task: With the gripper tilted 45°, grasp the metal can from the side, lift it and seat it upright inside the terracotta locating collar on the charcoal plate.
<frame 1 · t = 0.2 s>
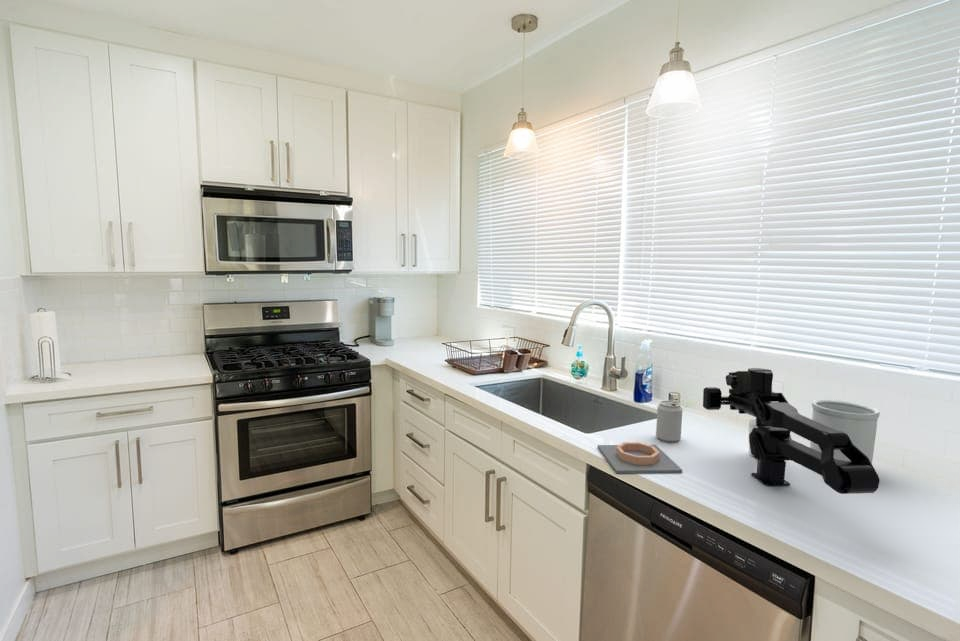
hand: (719, 392, 148), 17 cm above the countertop, tool horizontal, fingers open, 9 cm apart
utensil holder: (838, 467, 134), on the countertop
seat plate: (637, 459, 138), on the countertop
white cup: (761, 456, 141), on the countertop
can: (668, 439, 154), on the countertop
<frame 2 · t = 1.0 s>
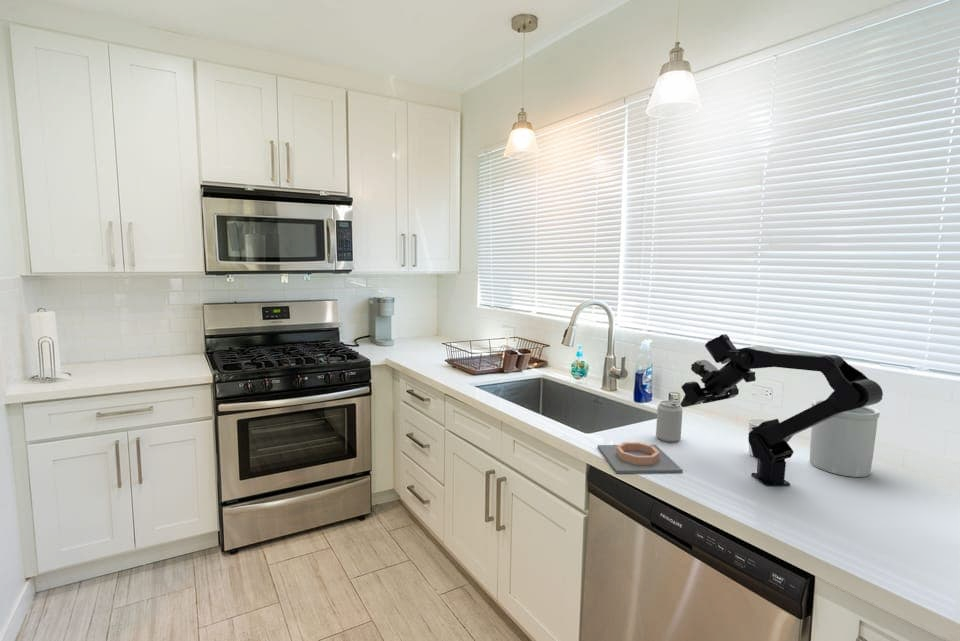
hand: (692, 403, 146), 14 cm above the countertop, tool tilted 45°, fingers open, 9 cm apart
nothing on the countertop moved.
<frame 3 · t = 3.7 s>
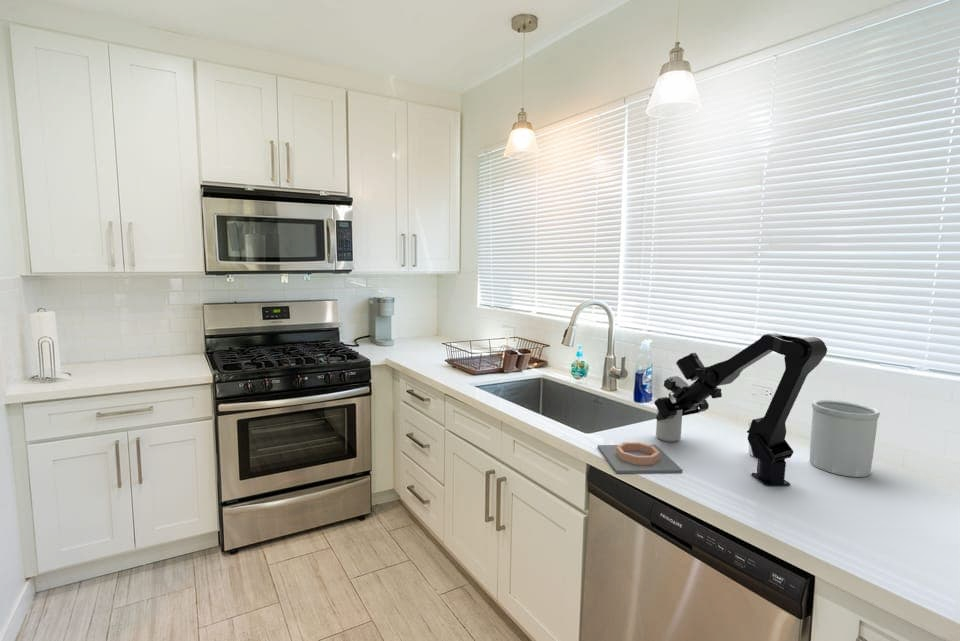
hand: (665, 417, 155), 7 cm above the countertop, tool tilted 45°, fingers closed on can, 7 cm apart
can: (668, 439, 154), on the countertop, touching gripper
everything else where it was.
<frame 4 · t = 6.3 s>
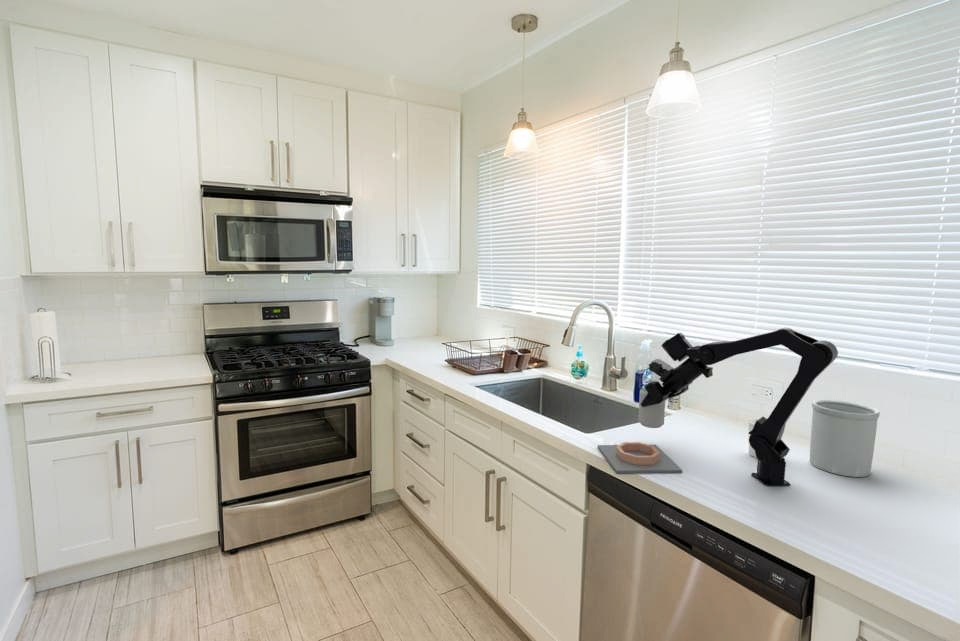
hand: (647, 403, 148), 13 cm above the countertop, tool tilted 45°, fingers closed on can, 7 cm apart
can: (651, 425, 148), point 6 cm above the countertop, touching gripper
everything else where it was.
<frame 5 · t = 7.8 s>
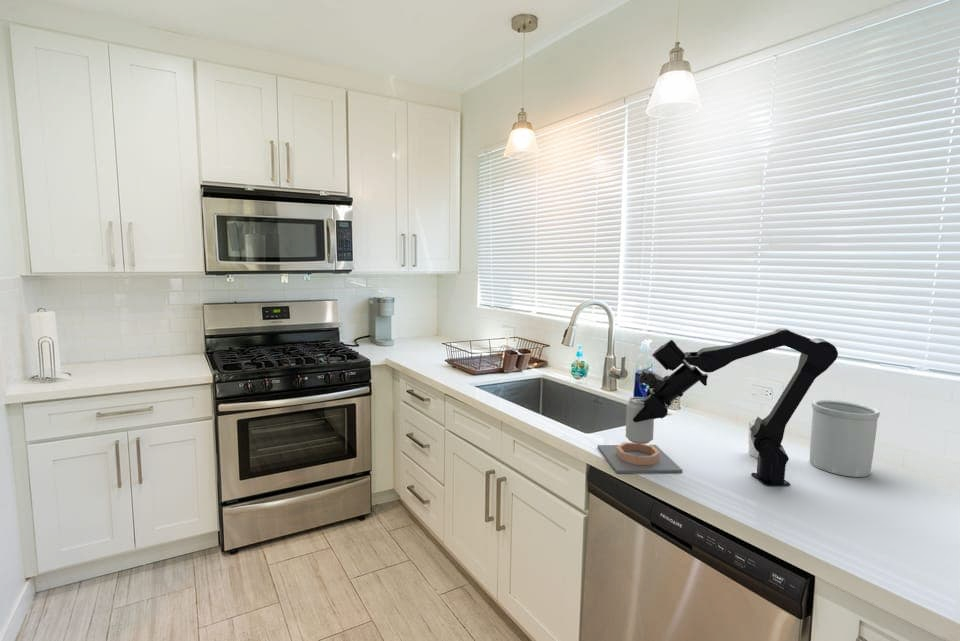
hand: (635, 416, 137), 12 cm above the countertop, tool tilted 45°, fingers closed on can, 7 cm apart
can: (639, 440, 137), point 6 cm above the countertop, touching gripper
everything else where it was.
when the fingers open (8 cm above the countertop, at t = 9.2 s): can stays where it is, resting on seat plate.
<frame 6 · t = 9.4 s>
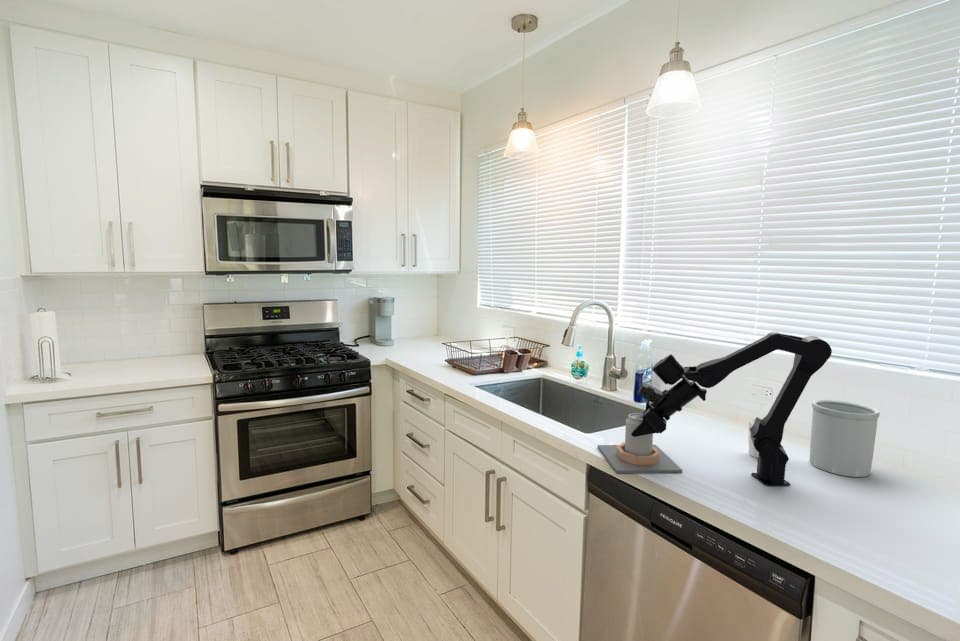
hand: (633, 430, 137), 9 cm above the countertop, tool tilted 45°, fingers open, 9 cm apart
can: (638, 457, 138), point 1 cm above the countertop, touching seat plate
everything else where it was.
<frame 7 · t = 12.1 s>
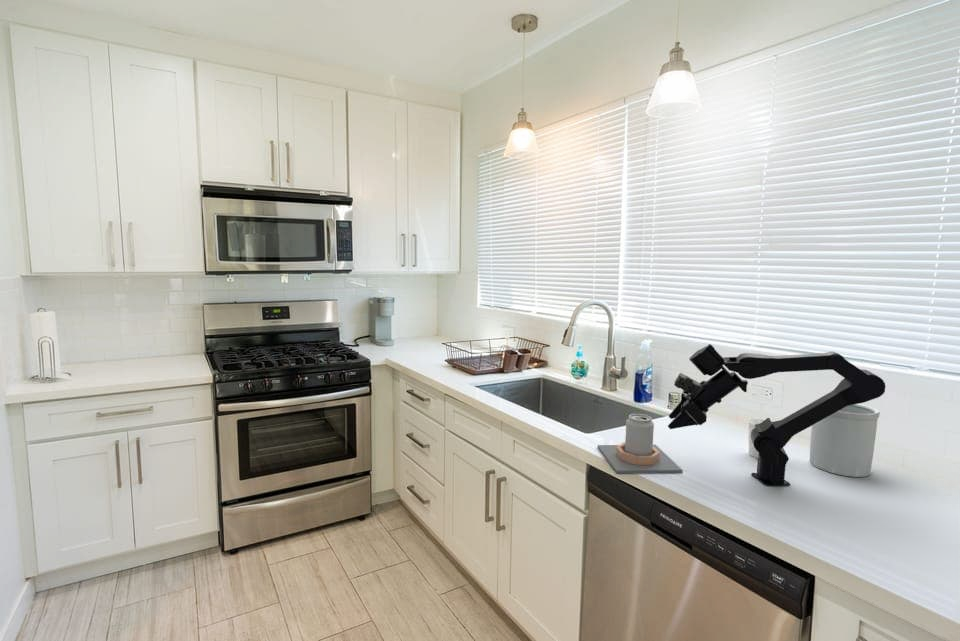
hand: (669, 422, 133), 12 cm above the countertop, tool tilted 45°, fingers open, 9 cm apart
nothing on the countertop moved.
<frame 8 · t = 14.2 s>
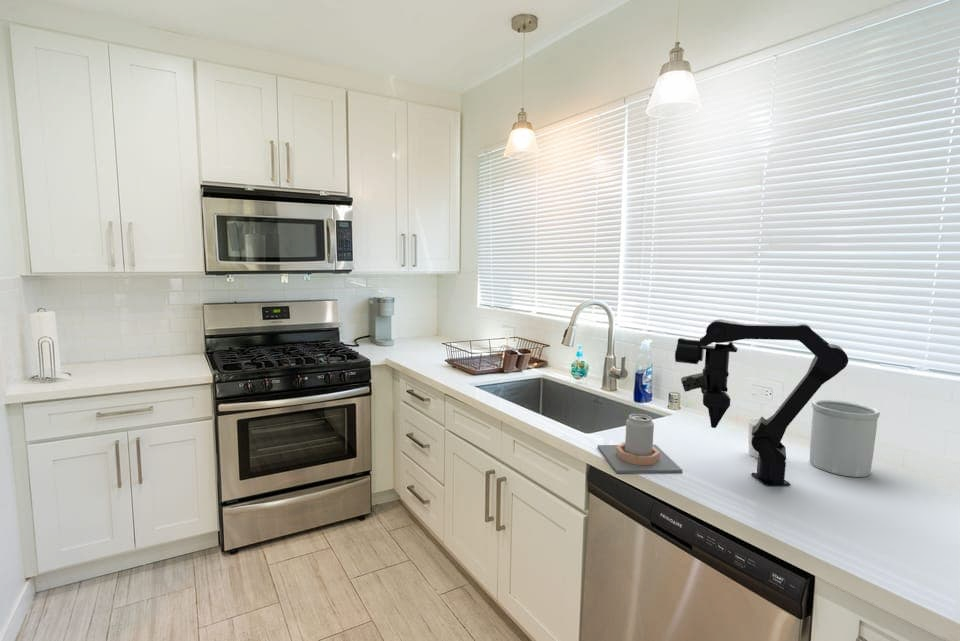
hand: (712, 422, 131), 13 cm above the countertop, tool pointing down, fingers open, 9 cm apart
nothing on the countertop moved.
at the end: can 0.2 cm off-centre on the seat plate, point 0.6 cm above the seat plate's base; can tilted 0°; the gripper is holding nothing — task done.
